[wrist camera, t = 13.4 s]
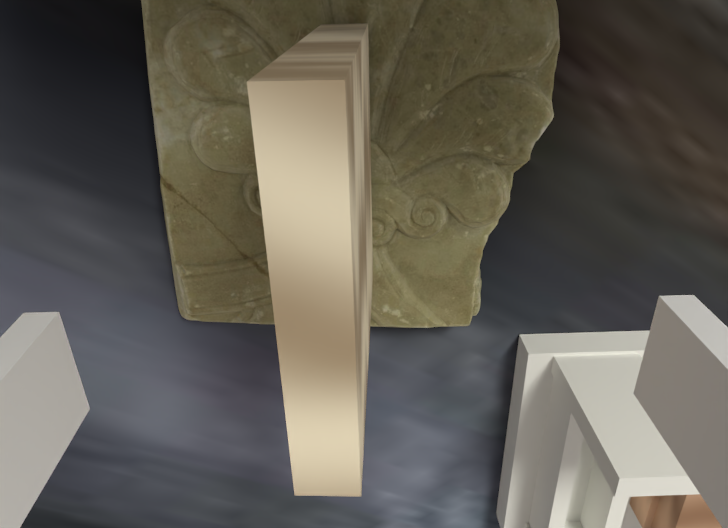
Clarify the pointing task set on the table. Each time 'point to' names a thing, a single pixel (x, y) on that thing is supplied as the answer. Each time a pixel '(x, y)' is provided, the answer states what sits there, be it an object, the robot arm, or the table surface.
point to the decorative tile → (387, 135)
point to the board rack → (581, 435)
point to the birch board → (319, 246)
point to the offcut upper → (684, 513)
